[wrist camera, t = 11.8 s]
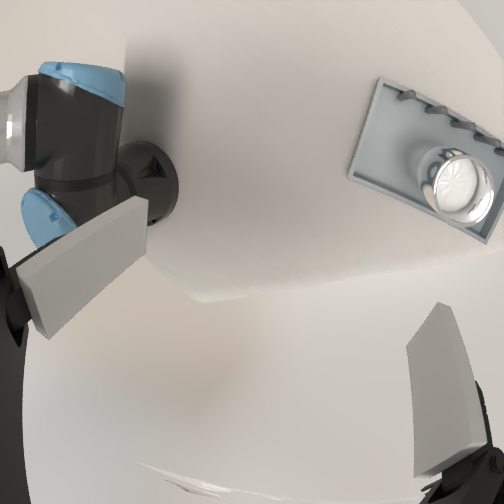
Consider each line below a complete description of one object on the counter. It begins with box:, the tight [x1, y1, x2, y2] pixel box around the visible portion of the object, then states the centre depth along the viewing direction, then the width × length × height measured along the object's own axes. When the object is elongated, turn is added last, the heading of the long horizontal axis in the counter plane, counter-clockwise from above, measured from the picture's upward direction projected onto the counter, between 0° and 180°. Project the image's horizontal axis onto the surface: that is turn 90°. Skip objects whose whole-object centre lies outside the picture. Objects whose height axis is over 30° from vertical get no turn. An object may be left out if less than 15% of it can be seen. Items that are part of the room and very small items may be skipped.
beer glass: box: [406, 141, 494, 227], centre depth 26 cm, size 7×7×15 cm
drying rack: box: [347, 77, 504, 244], centre depth 29 cm, size 23×14×8 cm, turn 76°
